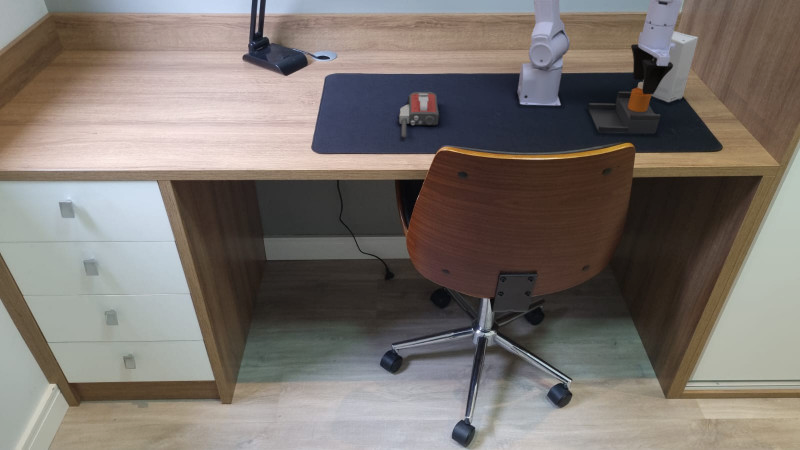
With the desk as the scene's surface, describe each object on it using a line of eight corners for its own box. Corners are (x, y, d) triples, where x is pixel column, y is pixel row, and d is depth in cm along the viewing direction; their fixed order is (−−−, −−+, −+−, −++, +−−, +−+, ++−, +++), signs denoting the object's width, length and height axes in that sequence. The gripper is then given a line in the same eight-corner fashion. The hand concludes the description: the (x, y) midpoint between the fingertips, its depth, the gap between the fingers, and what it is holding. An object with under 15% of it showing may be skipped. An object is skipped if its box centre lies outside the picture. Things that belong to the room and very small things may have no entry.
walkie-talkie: (400, 102, 136) (398, 142, 120) (400, 84, 133) (398, 123, 117) (436, 102, 135) (440, 142, 119) (437, 84, 133) (440, 123, 117)
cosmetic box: (682, 98, 136) (701, 37, 127) (666, 105, 133) (685, 42, 124) (652, 87, 141) (669, 27, 132) (637, 92, 139) (653, 32, 130)
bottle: (630, 111, 122) (636, 87, 119) (625, 103, 126) (631, 79, 122) (649, 112, 122) (656, 87, 119) (644, 104, 125) (651, 80, 122)
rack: (597, 134, 122) (602, 114, 119) (587, 110, 131) (591, 90, 128) (654, 135, 121) (660, 115, 118) (640, 111, 131) (645, 91, 128)
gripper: (693, 34, 107) (672, 100, 115) (669, 11, 118) (652, 73, 126) (655, 33, 107) (637, 100, 115) (635, 10, 119) (620, 72, 127)
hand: (643, 86), depth 121 cm, fingers open, 7 cm apart
